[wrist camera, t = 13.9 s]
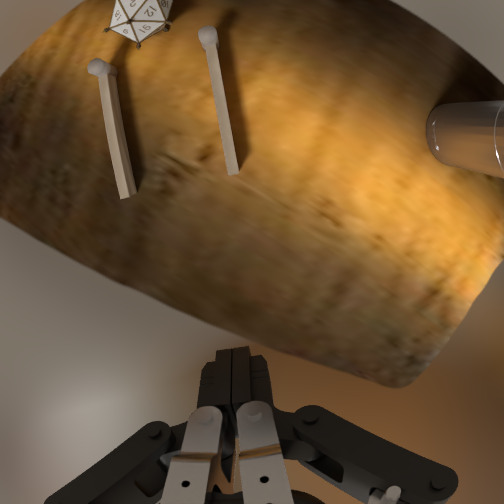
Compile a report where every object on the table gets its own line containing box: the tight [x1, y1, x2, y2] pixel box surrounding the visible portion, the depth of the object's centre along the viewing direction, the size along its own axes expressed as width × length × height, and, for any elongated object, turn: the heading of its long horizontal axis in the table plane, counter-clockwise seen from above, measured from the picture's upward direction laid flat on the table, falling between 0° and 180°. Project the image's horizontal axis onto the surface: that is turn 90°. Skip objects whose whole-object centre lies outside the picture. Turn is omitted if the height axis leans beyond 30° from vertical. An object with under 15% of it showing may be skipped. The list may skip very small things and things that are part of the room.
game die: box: [103, 0, 174, 50], centre depth 26 cm, size 9×8×10 cm
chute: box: [88, 26, 239, 199], centre depth 32 cm, size 15×18×5 cm
